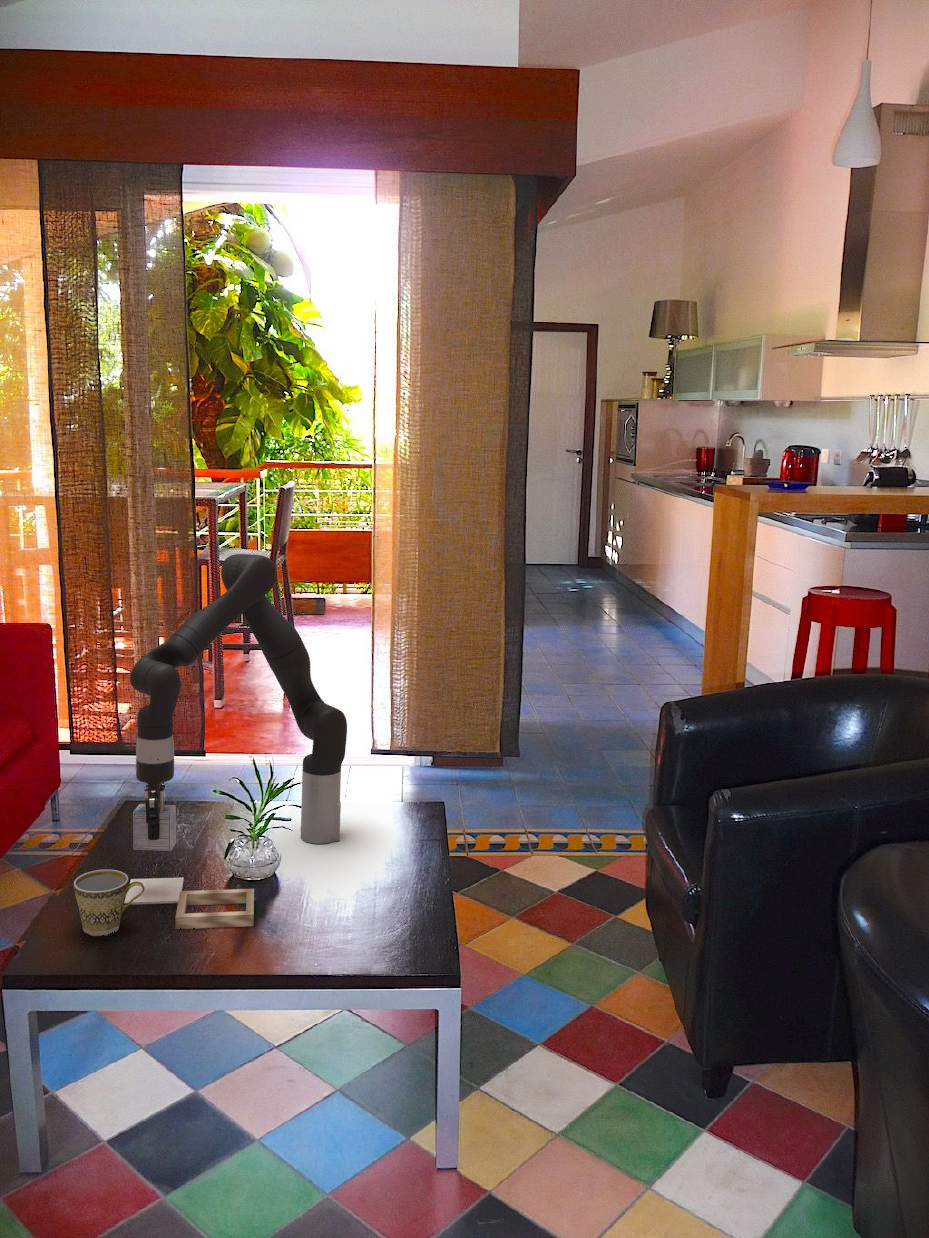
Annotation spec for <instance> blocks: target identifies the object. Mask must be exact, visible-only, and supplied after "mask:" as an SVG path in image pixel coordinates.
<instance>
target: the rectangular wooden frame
mask: <svg viewBox="0 0 929 1238" xmlns="http://www.w3.org/2000/svg"><path fill="white" fill-rule="evenodd" d="M254 903H255V888H236V889H235V888H232V889H205V890H203V889H202V890H201V889H200V890H182V891H180V894H179V900H178V903H177V908H176V913H175V917H174V918H175V929H174V930H189V929H190V930H191V929H192V930H193V928H195V929H214V928H215V929H216V928H240V927H241V928H242V927H254V917H255V915H254V914H255V913H254V911H255V909H254V908H255V907H254V906H255V904H254ZM234 904H237V905H239V904H246V905H245V911H244V910H243V911H242V910H241V911H219V912H192V913H191V912H190V913H189V912H188V913H187V908H188V906H207V905H213V906H214V905H234ZM180 928H181V929H180Z"/></svg>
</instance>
